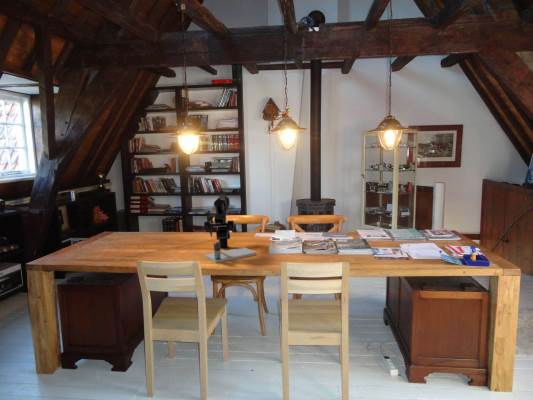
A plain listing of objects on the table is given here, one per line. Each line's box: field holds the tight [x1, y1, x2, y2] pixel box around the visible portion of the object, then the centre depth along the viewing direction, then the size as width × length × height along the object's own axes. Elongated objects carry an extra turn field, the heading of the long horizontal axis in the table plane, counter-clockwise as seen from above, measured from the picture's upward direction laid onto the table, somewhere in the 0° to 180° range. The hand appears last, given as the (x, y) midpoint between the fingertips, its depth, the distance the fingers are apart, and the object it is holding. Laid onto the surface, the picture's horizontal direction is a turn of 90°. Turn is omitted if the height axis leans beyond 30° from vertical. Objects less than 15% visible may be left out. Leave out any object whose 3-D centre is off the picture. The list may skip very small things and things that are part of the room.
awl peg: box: [213, 241, 222, 260], centre depth 236 cm, size 4×4×10 cm
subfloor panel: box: [203, 246, 258, 264], centre depth 248 cm, size 16×29×2 cm, turn 123°
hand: (218, 236), depth 242 cm, fingers open, 9 cm apart
